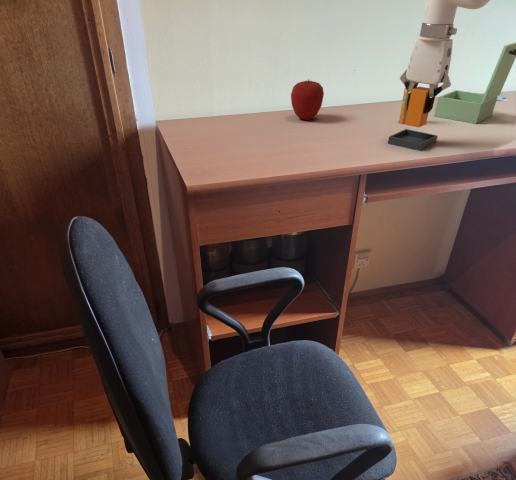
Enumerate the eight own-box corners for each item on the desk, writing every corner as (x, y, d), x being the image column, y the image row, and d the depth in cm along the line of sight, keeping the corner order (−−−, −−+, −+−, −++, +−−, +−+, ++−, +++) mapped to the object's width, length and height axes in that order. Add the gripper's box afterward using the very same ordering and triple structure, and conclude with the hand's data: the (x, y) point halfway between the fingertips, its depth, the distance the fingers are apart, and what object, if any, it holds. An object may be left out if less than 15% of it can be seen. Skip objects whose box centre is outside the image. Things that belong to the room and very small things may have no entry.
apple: (291, 113, 156) (293, 75, 148) (322, 115, 155) (325, 76, 147) (288, 122, 148) (289, 82, 140) (320, 123, 146) (324, 83, 139)
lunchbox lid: (504, 45, 131) (523, 50, 129) (520, 40, 139) (538, 44, 137) (480, 102, 142) (497, 107, 140) (497, 94, 150) (513, 99, 148)
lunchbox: (433, 115, 154) (438, 97, 150) (451, 108, 162) (455, 90, 158) (475, 123, 146) (481, 104, 142) (491, 115, 154) (497, 96, 150)
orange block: (426, 124, 128) (434, 88, 122) (418, 127, 126) (426, 91, 120) (411, 121, 131) (419, 86, 125) (404, 124, 128) (411, 89, 122)
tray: (436, 142, 132) (437, 135, 130) (420, 150, 126) (421, 143, 125) (404, 135, 137) (405, 128, 136) (387, 143, 131) (388, 136, 130)
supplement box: (397, 121, 149) (404, 86, 142) (407, 120, 149) (414, 86, 142) (400, 123, 146) (407, 89, 140) (411, 123, 146) (418, 89, 140)
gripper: (474, 33, 112) (452, 113, 124) (412, 27, 120) (397, 103, 132) (461, 36, 108) (440, 119, 120) (398, 30, 116) (384, 108, 128)
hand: (418, 110), depth 126 cm, fingers closed on orange block, 4 cm apart
